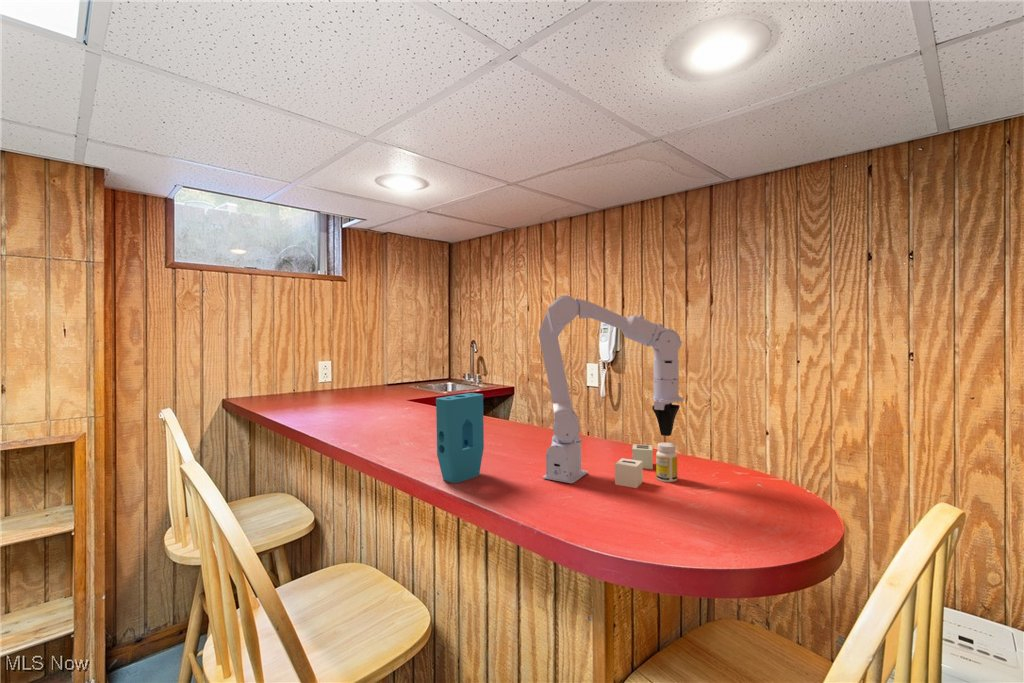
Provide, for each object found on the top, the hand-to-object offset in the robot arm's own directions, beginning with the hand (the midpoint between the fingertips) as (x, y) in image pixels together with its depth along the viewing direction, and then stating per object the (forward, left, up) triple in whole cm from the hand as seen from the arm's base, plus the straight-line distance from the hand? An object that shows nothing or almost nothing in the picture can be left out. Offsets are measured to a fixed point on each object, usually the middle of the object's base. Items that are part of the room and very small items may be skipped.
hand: (666, 435), depth 111 cm
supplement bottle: (-1, 0, -11) cm, 11 cm away
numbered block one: (-8, +7, -10) cm, 15 cm away
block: (-24, +44, -11) cm, 51 cm away
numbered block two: (+7, +8, -10) cm, 15 cm away
